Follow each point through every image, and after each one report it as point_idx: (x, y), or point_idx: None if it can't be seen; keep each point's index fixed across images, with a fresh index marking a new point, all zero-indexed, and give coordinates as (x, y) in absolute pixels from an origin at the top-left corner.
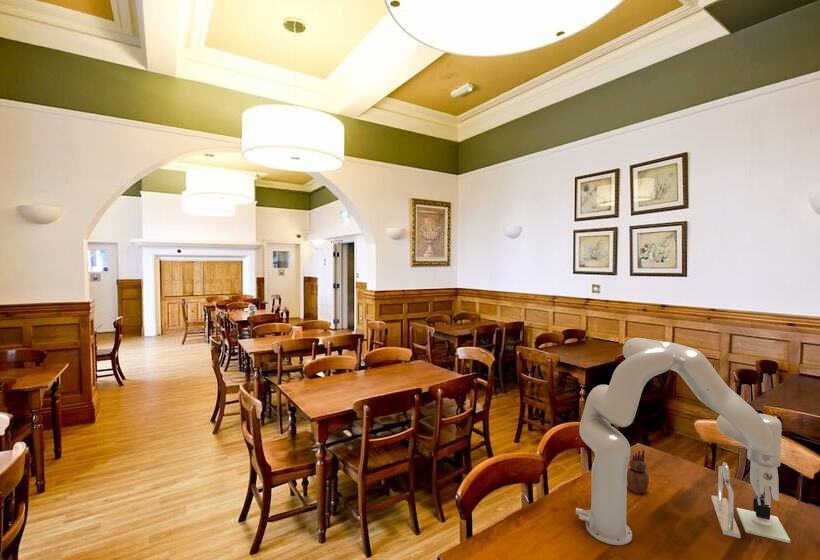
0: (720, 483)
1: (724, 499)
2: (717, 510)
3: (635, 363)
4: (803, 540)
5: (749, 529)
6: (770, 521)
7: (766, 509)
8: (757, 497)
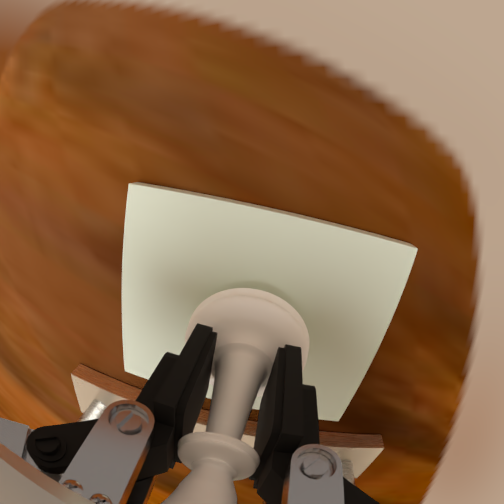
0: None
1: (86, 387)
2: None
3: None
4: (362, 135)
5: (333, 408)
6: (287, 322)
7: (317, 443)
8: (162, 471)
